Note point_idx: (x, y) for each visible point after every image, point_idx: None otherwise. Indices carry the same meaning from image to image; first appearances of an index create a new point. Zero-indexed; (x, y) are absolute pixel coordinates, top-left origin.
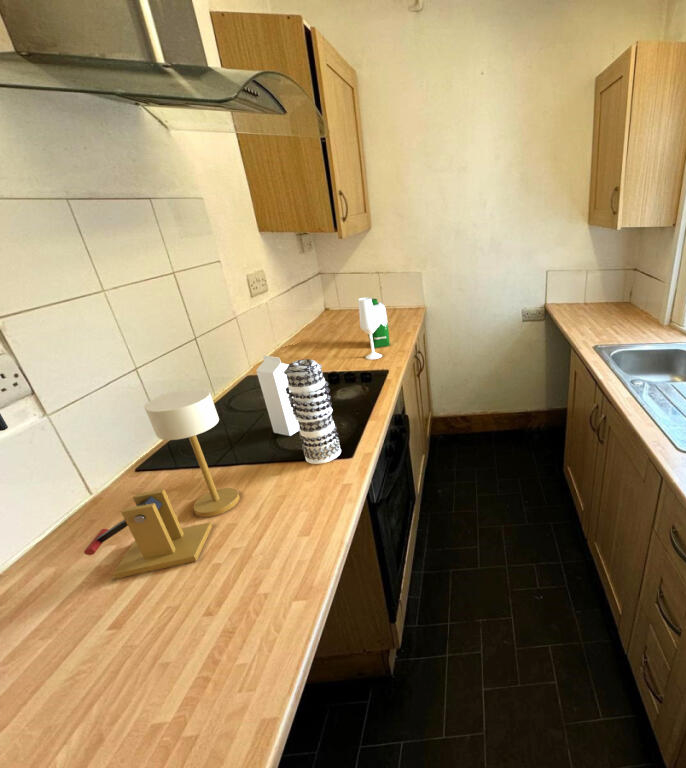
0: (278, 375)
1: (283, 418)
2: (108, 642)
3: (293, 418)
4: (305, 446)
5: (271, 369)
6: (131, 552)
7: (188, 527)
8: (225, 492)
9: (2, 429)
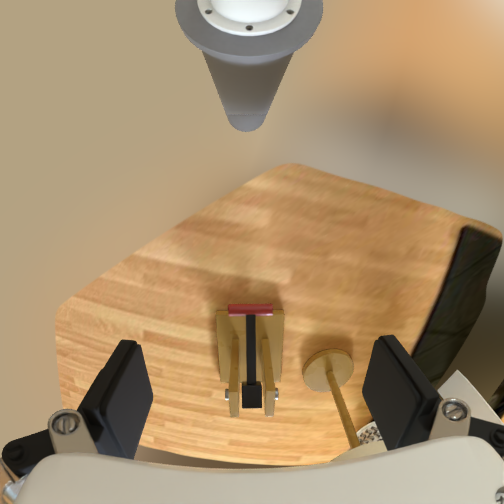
0: None
1: None
2: (130, 336)
3: None
4: (375, 439)
5: None
6: None
7: (280, 363)
8: (340, 378)
9: (364, 390)
